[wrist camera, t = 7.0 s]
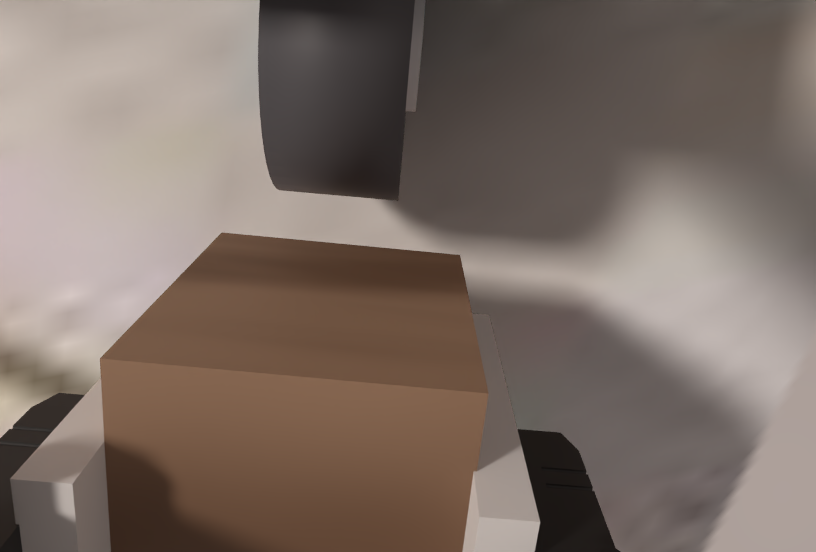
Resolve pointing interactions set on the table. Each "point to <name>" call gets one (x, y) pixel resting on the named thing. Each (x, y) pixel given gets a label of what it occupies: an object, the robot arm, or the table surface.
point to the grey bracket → (338, 92)
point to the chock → (296, 404)
